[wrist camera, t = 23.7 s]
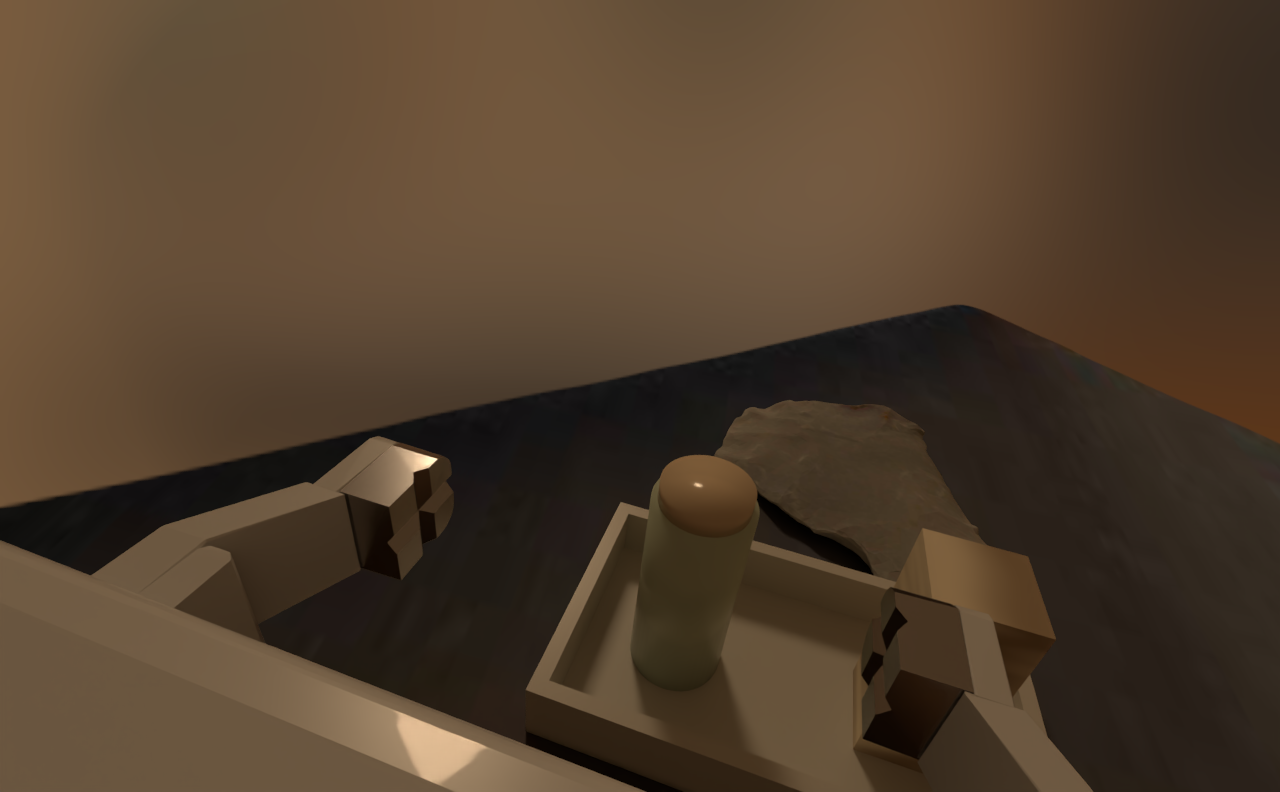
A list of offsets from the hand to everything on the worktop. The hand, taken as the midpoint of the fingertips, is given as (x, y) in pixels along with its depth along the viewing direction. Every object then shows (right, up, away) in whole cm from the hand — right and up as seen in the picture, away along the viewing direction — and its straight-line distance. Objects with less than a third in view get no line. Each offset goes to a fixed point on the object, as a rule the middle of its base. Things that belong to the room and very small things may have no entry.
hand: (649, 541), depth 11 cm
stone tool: (+17, -6, +36) cm, 40 cm away
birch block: (+13, -14, +20) cm, 28 cm away
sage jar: (+2, -11, +23) cm, 25 cm away
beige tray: (+7, -13, +22) cm, 27 cm away
